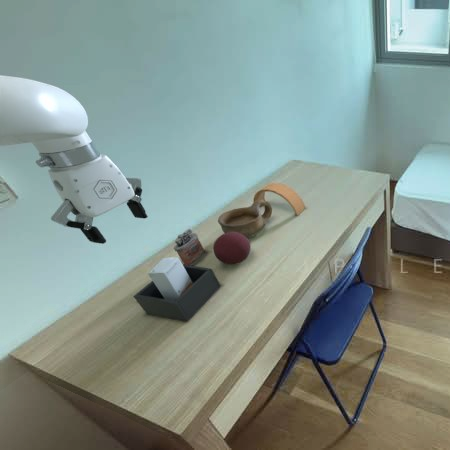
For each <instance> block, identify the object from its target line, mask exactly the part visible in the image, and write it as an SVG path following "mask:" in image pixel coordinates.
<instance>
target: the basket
mask: <svg viewBox="0 0 450 450" xmlns="http://www.w3.org/2000/svg"><path fill="white" fill-rule="evenodd" d="M182 265H183V266H184V268H185V270H186V272H187V273H188V275H189V277H190V279H191V280H192V282H193V284H192V285H191V286H190V287H189V288H188V289H187V290H186V291H185V292H184V293H183V294H182V295H181V296H180V297H179V298H178V299H177V300H175V301H172V300H166V299H164V297H163V296H162V294H161V293H160V291H159V290H158V288H157V287H156V285H155V284H154V282H153V281H152V280H151V281H150V282H149V283H148V284H147V285H145V286H144V287H143V288H142V289H140V290H139V291H138V292H137V293H135V294H134V295H133V296H132V297H133V298H134V299H135V301H136V303H138V305H139V306H140V307H141V308H142V310H143V312H144V313H145V314H146V315H148V316H153V317H160V318H165V319H170V320H175V321H181V322H185V323H188V322H189V321H190V319H192V317H194V315H195V314H196V313H197V312H198V311H199V310H200V309H201V308H202V307H203V306H204V305H205V304H206V302H208V301H209V300H210V298H212V296H213V295H214V294H215V293H216V292H217V291H218V290H219V289H220V288H221V287H222V285H221V284H220V281H219V279H218V278H217V275H216V274H215V272H214V270H213V268H211V267H203V266H196V265H194V266H190V265H184V263H182Z"/></svg>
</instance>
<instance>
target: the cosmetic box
mask: <svg viewBox="0 0 450 450" xmlns="http://www.w3.org/2000/svg"><path fill="white" fill-rule="evenodd" d="M182 264H183V262H182V260H181V258H180V257H163V258H162V259H161V260H159V262H157V263H156V264H155V265H154V266H153V268H151V270H150V271H148V273H147V274H148V276H149V278H150V279H151V281H153V282H154V284H155V285H156V287H157V288H158V290H159V291H160V293H161V294H162V296H163V297H164V299H166V300H172V301H175V300H177V299H178V298H179V297H180V296H181V295H182V294H183V293H184V292H185V291H186V290H187V289H188V288H189V287H190V286H191V285H192V284H193V282H192V280H191V279H190V277H189V275H188V273H187V272H186V270H185V268H184V266H183V265H184V264H183V265H182Z"/></svg>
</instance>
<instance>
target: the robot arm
mask: <svg viewBox="0 0 450 450" xmlns="http://www.w3.org/2000/svg"><path fill="white" fill-rule="evenodd" d="M88 125H89V117H88V114H87V112H86V109H85V107H84V105H82V104H81V102H80V101H79V100H78V99H76V98H75V96H73V95H72V94H70V93H69V92H68V91H66V90H64V89H62V88H60V87H58V86H55V85H53V84H49V83H46V82H42V81H39V80H35V79H30V78H25V77H17V76H11V75H10V76H9V75H1V74H0V147H2V146H3V147H4V146H13V145H20V144H28V143H29V144H30V143H31V144H32V145H33V146H34V148H35V149H36V150H37V152H38V155H39V157H40V158H39V159H37V160H35V164H36V165H37V166H38V167H39V168H45V167H48V168H50V169H47V173H48V175H49V178H50V180H51V182H52V185H53V186H54V188H55V190H56V192H57V195H59V197H60V199H61V200H62V203H61V205H59V207H58V208H57V210H55V212H54V213H53V214H52V215H51V217H50V220H51V221H52V222H55V223H57V224H59V225H61V226H63V227H64V228H65V227H67V228H71V229H79V230H80V231H81V232H82V233H83V235H84V236H85V237H86V239H87V240H88V242H91V243H94V244H102V245H103V244H104V245H105V244H106V243H107V239H106V238H105V236H104V235H103V234H102V233H101V231H100V230H99V228H98V227H97V226H94V225H93V222H94V218H97V217H99V216H102V215H103V214H106V213H108V212H109V211H111V210H113V209H115V208H118V207H119V206H121V205H123V204H126V206H127V207H128V209H129V210H130V212H131V214H132V215H133V217H134V218H136V219H147V218H148V217H149V216H148V215H147V213H146V209H145V207H144V206H143V204H142V199H143V198H142V193H143V189H142V179H141V178H138V177H126V176H125V175H124V173H122V171H121V170H120V168H119V167H118V166H117V165H116V164H115V163H114V161H113V160H112V159H110V157H109V156H107V154H102V153H100V152H99V150H98V149H97V147H96V145H95V144H94V142H93V140H92V139H91V137H90V136H89V134H88V133H87V131H86V130H87V129H88ZM70 213H71V214H72V215H74V216H75V219H74V220H72V219H70V218H68V216H69V214H70Z"/></svg>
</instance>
